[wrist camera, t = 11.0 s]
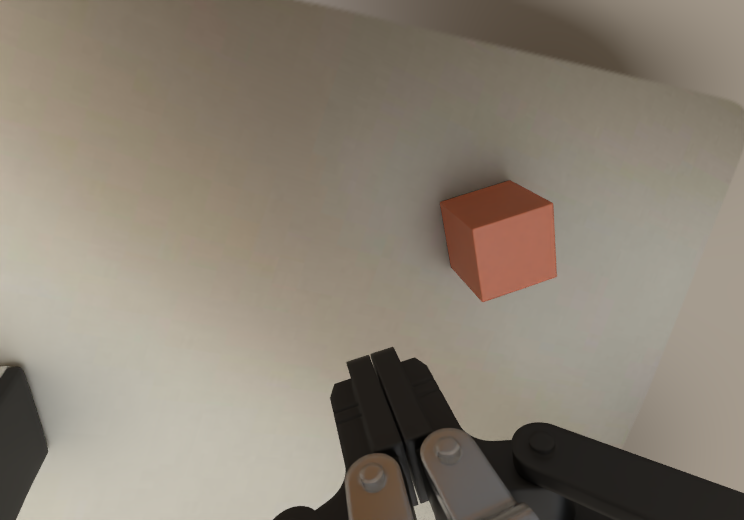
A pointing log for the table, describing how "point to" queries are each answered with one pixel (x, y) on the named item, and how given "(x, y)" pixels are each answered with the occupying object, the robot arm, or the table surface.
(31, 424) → the battery charger
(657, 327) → the table surface
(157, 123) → the table surface
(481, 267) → the block
